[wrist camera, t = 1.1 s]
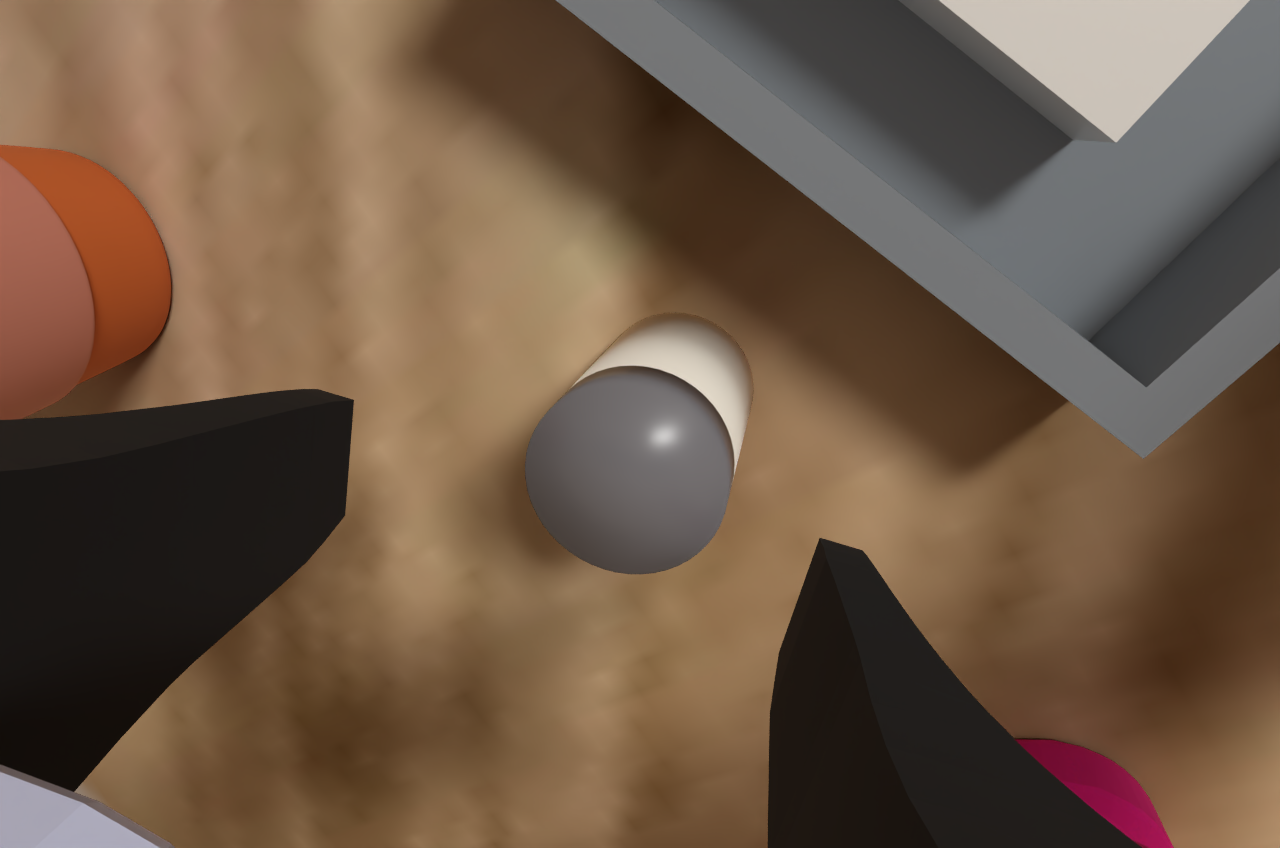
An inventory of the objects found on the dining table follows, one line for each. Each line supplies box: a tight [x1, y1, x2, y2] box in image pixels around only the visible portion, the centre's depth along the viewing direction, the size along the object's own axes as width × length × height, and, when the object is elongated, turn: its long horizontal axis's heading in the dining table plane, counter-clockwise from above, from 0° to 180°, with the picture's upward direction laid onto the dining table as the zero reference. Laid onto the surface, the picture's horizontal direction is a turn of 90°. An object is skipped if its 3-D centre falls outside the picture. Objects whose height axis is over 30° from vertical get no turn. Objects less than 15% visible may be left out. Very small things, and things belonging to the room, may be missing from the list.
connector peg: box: [525, 313, 754, 574], centre depth 18 cm, size 4×4×6 cm
